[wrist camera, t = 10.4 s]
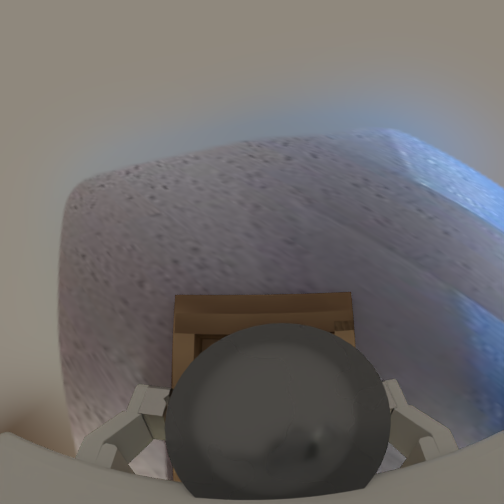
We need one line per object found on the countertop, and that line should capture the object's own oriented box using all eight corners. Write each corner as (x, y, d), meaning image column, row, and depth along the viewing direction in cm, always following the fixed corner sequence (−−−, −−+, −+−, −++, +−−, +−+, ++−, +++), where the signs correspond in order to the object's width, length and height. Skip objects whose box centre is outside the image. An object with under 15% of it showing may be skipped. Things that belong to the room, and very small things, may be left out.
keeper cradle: (178, 297, 21) (164, 283, 18) (347, 295, 21) (361, 280, 18) (177, 487, 16) (163, 503, 13) (352, 484, 15) (366, 499, 12)
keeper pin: (284, 339, 19) (323, 283, 8) (328, 414, 17) (421, 453, 6) (204, 381, 18) (128, 382, 7) (247, 457, 16) (234, 553, 5)
